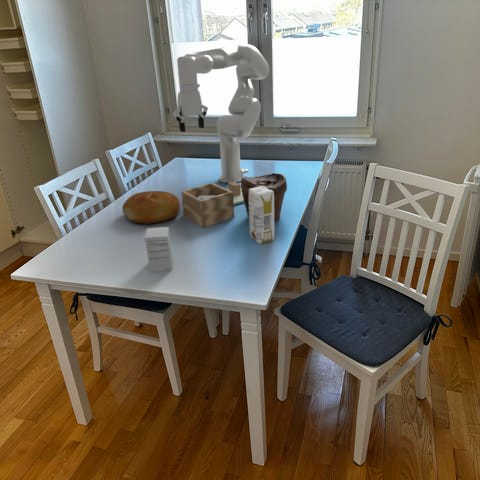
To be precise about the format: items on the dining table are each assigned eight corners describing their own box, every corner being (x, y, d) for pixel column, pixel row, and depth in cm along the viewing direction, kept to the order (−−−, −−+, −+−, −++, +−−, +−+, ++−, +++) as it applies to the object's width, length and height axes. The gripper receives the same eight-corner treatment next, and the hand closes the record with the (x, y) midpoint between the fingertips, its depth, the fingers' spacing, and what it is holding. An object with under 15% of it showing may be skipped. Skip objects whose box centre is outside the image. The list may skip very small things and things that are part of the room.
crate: (214, 206, 191) (212, 182, 186) (234, 217, 180) (233, 192, 175) (184, 216, 184) (181, 191, 179) (203, 227, 173) (200, 201, 168)
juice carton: (258, 245, 157) (257, 195, 149) (247, 236, 164) (245, 188, 156) (277, 240, 160) (276, 191, 152) (265, 231, 167) (264, 184, 159)
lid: (238, 187, 211) (238, 175, 209) (261, 196, 199) (260, 184, 196) (208, 195, 203) (208, 183, 200) (230, 206, 190) (229, 193, 187)
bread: (150, 202, 200) (147, 181, 196) (191, 210, 189) (189, 188, 184) (113, 220, 183) (109, 198, 178) (156, 231, 172) (153, 207, 167)
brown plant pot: (293, 210, 184) (293, 169, 176) (277, 230, 168) (276, 185, 160) (254, 205, 191) (252, 165, 183) (234, 224, 175) (231, 181, 167)
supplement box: (151, 261, 150) (146, 227, 144) (173, 259, 151) (169, 226, 145) (149, 272, 144) (144, 237, 138) (172, 270, 144) (167, 236, 138)
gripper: (200, 85, 191) (203, 125, 199) (166, 90, 182) (170, 131, 189) (210, 86, 186) (213, 127, 194) (175, 91, 176) (180, 134, 184)
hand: (192, 129), depth 192 cm, fingers open, 9 cm apart
